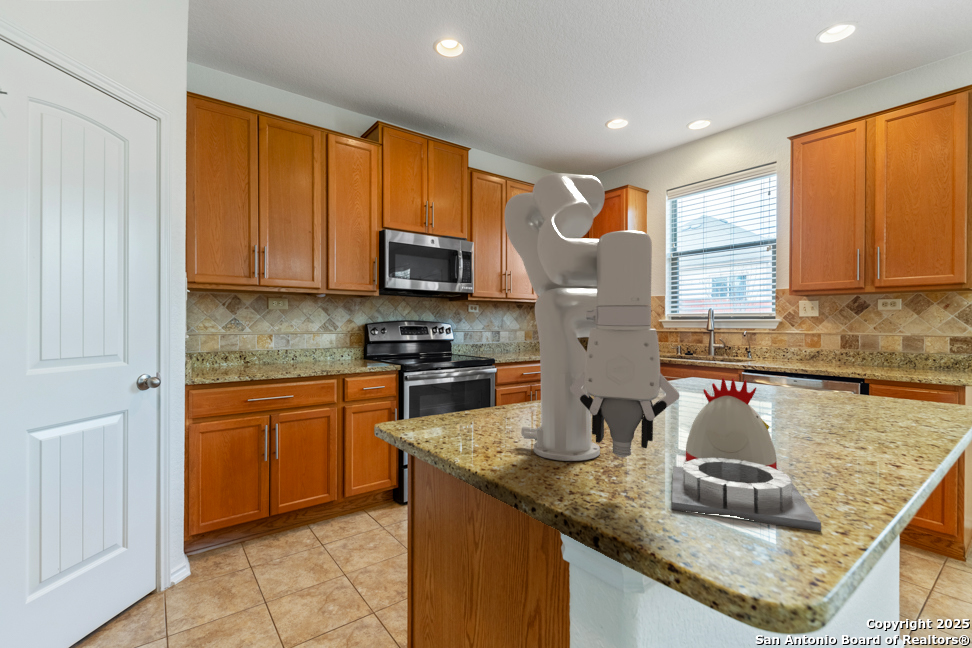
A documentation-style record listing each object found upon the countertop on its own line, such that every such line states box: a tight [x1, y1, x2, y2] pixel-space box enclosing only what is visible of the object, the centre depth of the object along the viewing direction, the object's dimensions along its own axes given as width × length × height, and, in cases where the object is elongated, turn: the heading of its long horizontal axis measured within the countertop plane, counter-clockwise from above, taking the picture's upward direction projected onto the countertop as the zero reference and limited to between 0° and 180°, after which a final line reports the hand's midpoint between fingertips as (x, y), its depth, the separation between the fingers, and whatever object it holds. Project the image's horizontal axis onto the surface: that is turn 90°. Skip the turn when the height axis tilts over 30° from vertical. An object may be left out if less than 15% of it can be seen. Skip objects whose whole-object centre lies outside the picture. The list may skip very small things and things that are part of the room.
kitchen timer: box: [685, 377, 778, 470], centre depth 77 cm, size 14×14×15 cm
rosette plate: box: [671, 458, 822, 532], centre depth 61 cm, size 16×16×4 cm
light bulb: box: [601, 398, 644, 458], centre depth 64 cm, size 6×6×10 cm
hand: (621, 441), depth 64 cm, fingers closed on light bulb, 5 cm apart
